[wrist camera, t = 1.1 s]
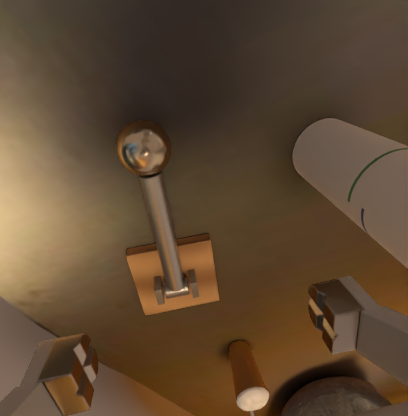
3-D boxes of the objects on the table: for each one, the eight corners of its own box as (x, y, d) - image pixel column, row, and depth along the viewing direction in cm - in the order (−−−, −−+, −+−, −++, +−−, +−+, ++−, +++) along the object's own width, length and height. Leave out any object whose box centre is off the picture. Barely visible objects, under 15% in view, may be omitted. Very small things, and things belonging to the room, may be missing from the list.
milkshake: (222, 360, 48) (237, 429, 39) (225, 338, 46) (242, 406, 37) (249, 357, 49) (270, 424, 40) (253, 335, 46) (276, 401, 38)
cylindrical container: (297, 188, 35) (536, 423, 13) (287, 131, 31) (593, 323, 10) (355, 168, 35) (695, 370, 13) (351, 108, 31) (811, 249, 9)
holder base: (126, 248, 35) (123, 270, 32) (208, 233, 36) (214, 252, 32) (145, 307, 40) (144, 331, 37) (217, 292, 41) (222, 314, 37)
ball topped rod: (112, 119, 28) (104, 132, 23) (165, 110, 28) (167, 122, 24) (157, 283, 38) (158, 314, 34) (195, 276, 38) (201, 305, 34)
